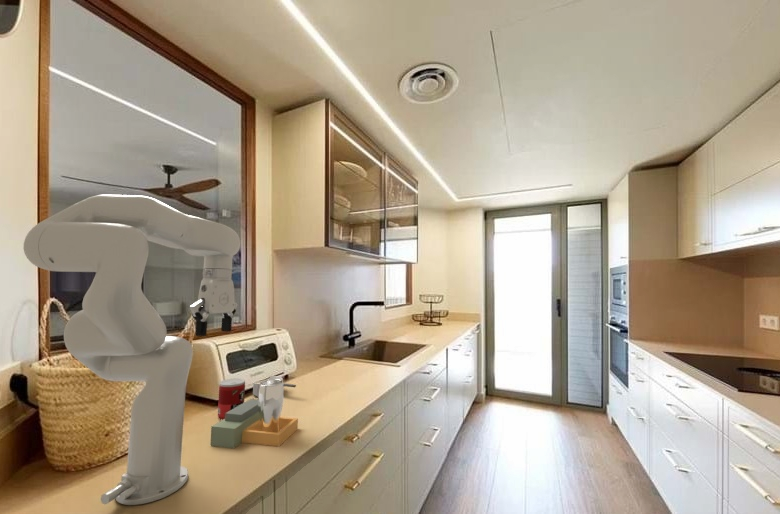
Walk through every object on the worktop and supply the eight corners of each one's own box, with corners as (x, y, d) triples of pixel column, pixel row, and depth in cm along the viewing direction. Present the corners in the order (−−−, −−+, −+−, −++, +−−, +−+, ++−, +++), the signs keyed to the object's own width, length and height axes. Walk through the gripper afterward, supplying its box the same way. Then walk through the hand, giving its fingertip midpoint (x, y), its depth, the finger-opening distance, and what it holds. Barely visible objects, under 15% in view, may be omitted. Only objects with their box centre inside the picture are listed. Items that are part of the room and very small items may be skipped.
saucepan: (282, 405, 118) (283, 389, 118) (245, 396, 127) (245, 381, 127) (304, 396, 128) (305, 381, 128) (268, 388, 137) (268, 374, 137)
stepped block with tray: (271, 452, 84) (272, 424, 85) (210, 445, 88) (211, 418, 88) (305, 421, 104) (306, 398, 104) (254, 416, 107) (255, 394, 108)
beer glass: (287, 434, 94) (289, 381, 96) (266, 444, 89) (268, 387, 90) (272, 428, 98) (274, 377, 100) (251, 437, 93) (253, 383, 94)
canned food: (233, 421, 103) (235, 385, 104) (211, 419, 105) (213, 384, 106) (248, 412, 111) (250, 379, 112) (228, 410, 112) (229, 377, 113)
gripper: (205, 274, 88) (200, 338, 87) (247, 276, 105) (244, 330, 103) (182, 274, 90) (178, 337, 89) (228, 276, 107) (224, 329, 105)
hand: (214, 333), depth 96 cm, fingers open, 9 cm apart
